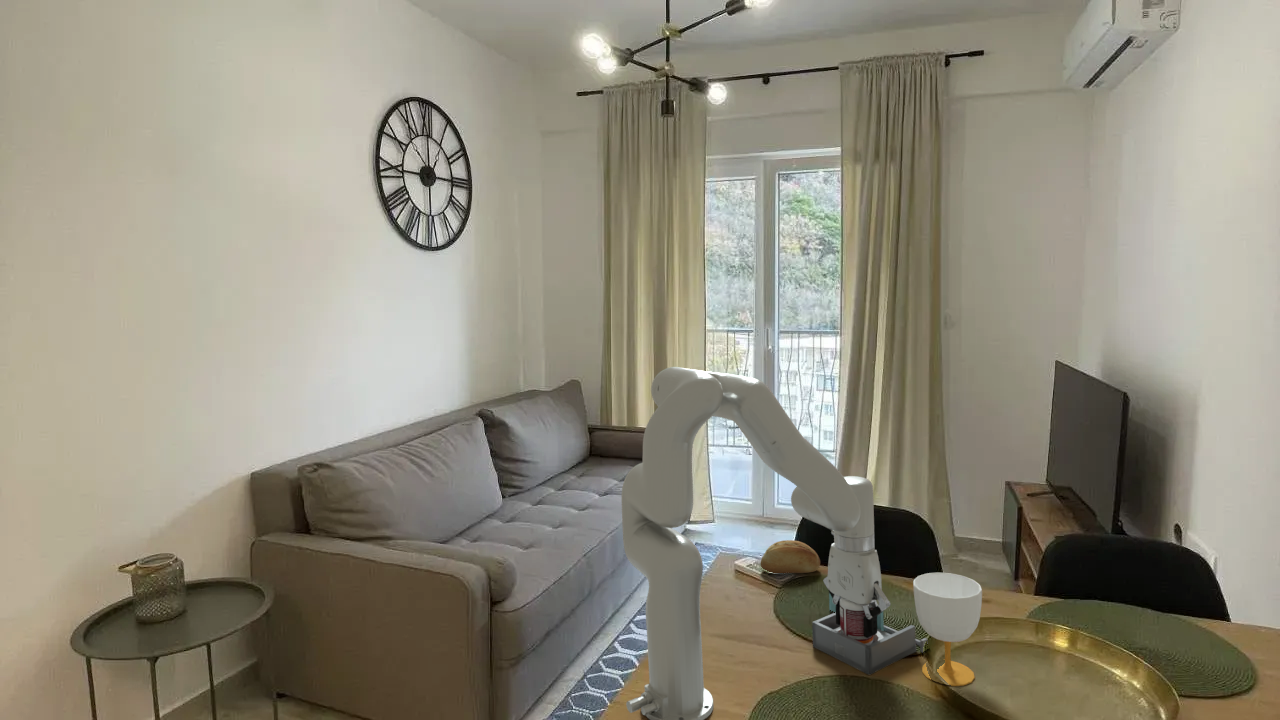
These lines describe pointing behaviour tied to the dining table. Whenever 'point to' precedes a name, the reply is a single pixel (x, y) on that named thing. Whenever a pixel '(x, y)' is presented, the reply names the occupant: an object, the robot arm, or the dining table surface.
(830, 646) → the housing
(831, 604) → the gate
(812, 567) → the bread roll
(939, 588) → the cup
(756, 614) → the dining table surface
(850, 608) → the pill bottle
